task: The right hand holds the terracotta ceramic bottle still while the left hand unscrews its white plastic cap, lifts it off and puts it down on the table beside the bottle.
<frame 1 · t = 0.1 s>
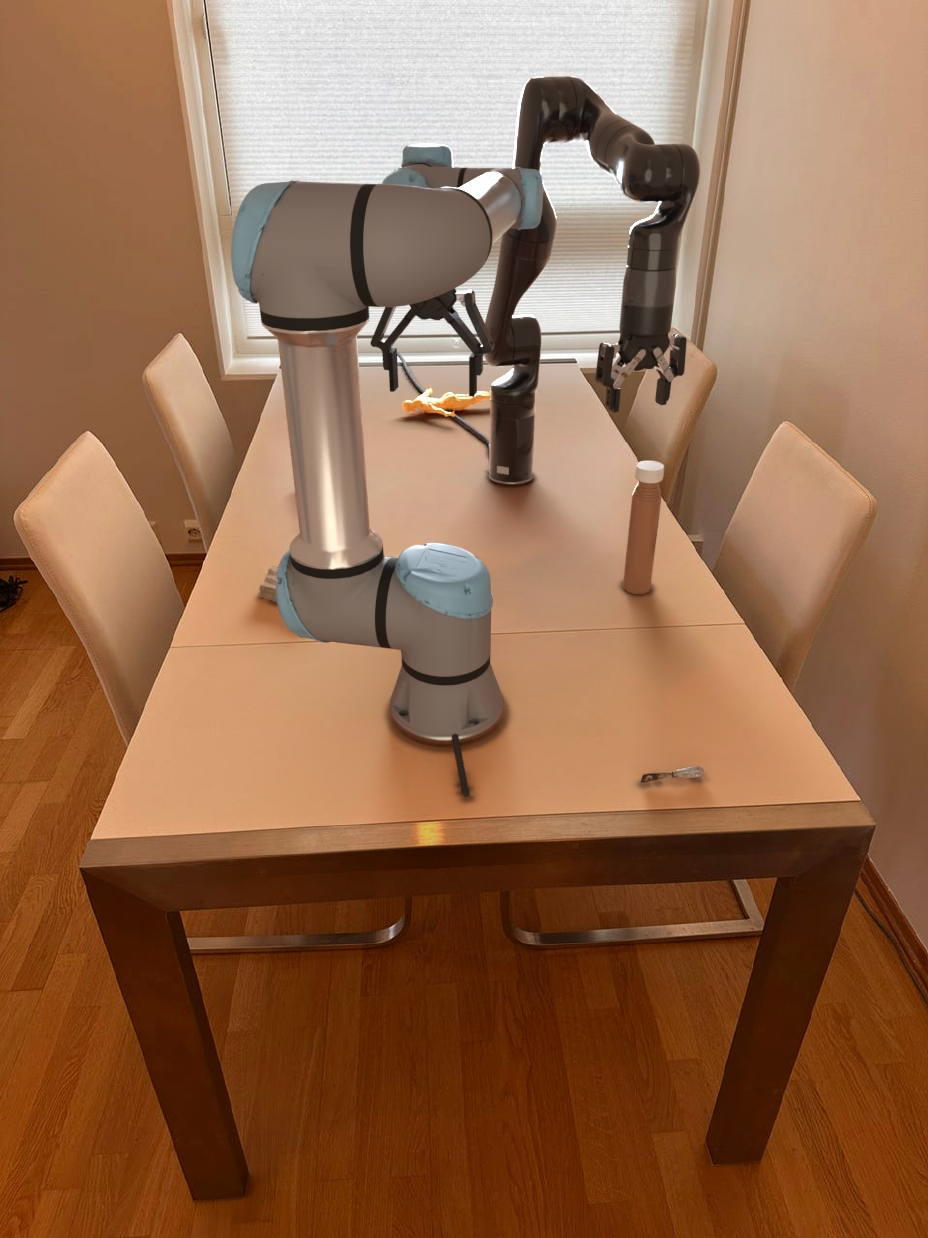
left hand: (433, 391, 149), 28 cm above the table, tool pointing down, fingers open, 13 cm apart
right hand: (636, 407, 138), 29 cm above the table, tool pointing down, fingers open, 8 cm apart
stone: (298, 596, 147), on the table
human figure: (450, 410, 226), on the table
cap: (650, 467, 138), point 21 cm above the table, screwed on, not yet turned
handgun: (335, 497, 181), on the table
bottle: (636, 587, 150), on the table
putty knife: (671, 781, 109), on the table
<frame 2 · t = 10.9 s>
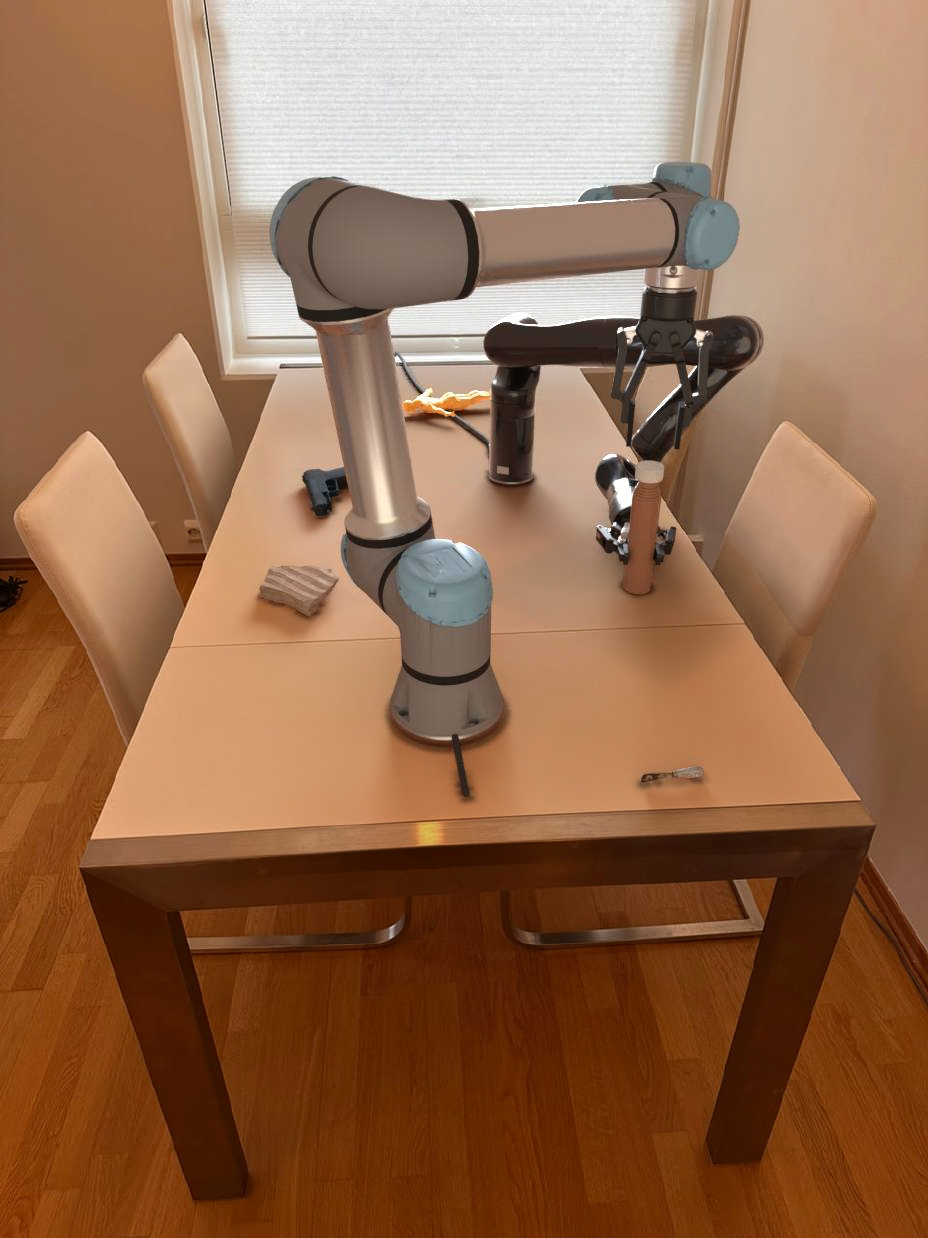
left hand: (652, 444, 136), 25 cm above the table, tool pointing down, fingers open, 6 cm apart
right hand: (642, 560, 144), 7 cm above the table, tool horizontal, fingers closed on bottle, 4 cm apart
bottle: (636, 587, 150), on the table, touching right hand
everything else where it was.
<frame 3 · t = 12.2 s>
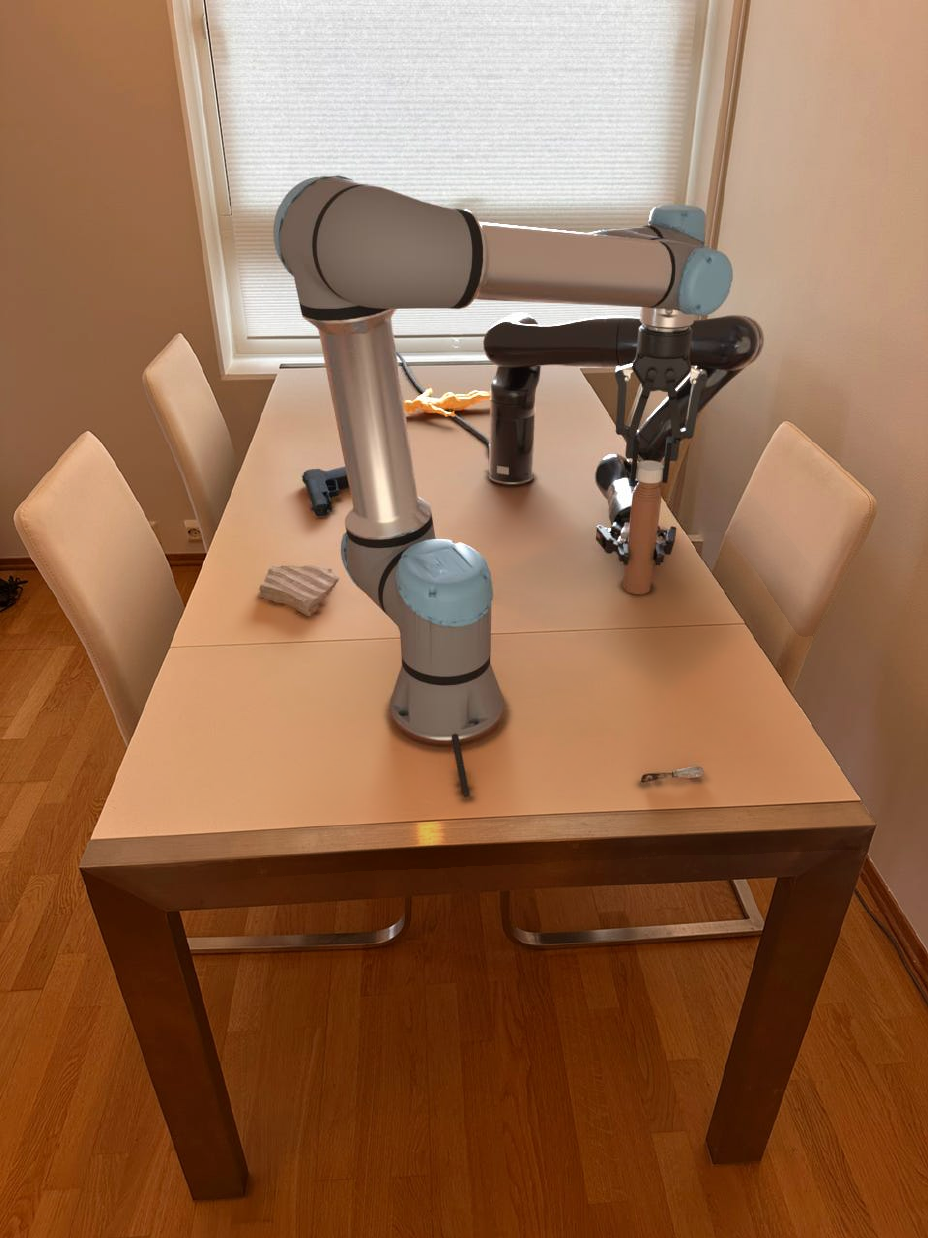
left hand: (648, 478, 139), 20 cm above the table, tool pointing down, fingers closed on cap, 4 cm apart
right hand: (642, 560, 144), 7 cm above the table, tool horizontal, fingers closed on bottle, 4 cm apart
cap: (650, 467, 138), point 21 cm above the table, screwed on, not yet turned, touching left hand
bottle: (636, 587, 150), on the table, touching right hand
everything else where it was.
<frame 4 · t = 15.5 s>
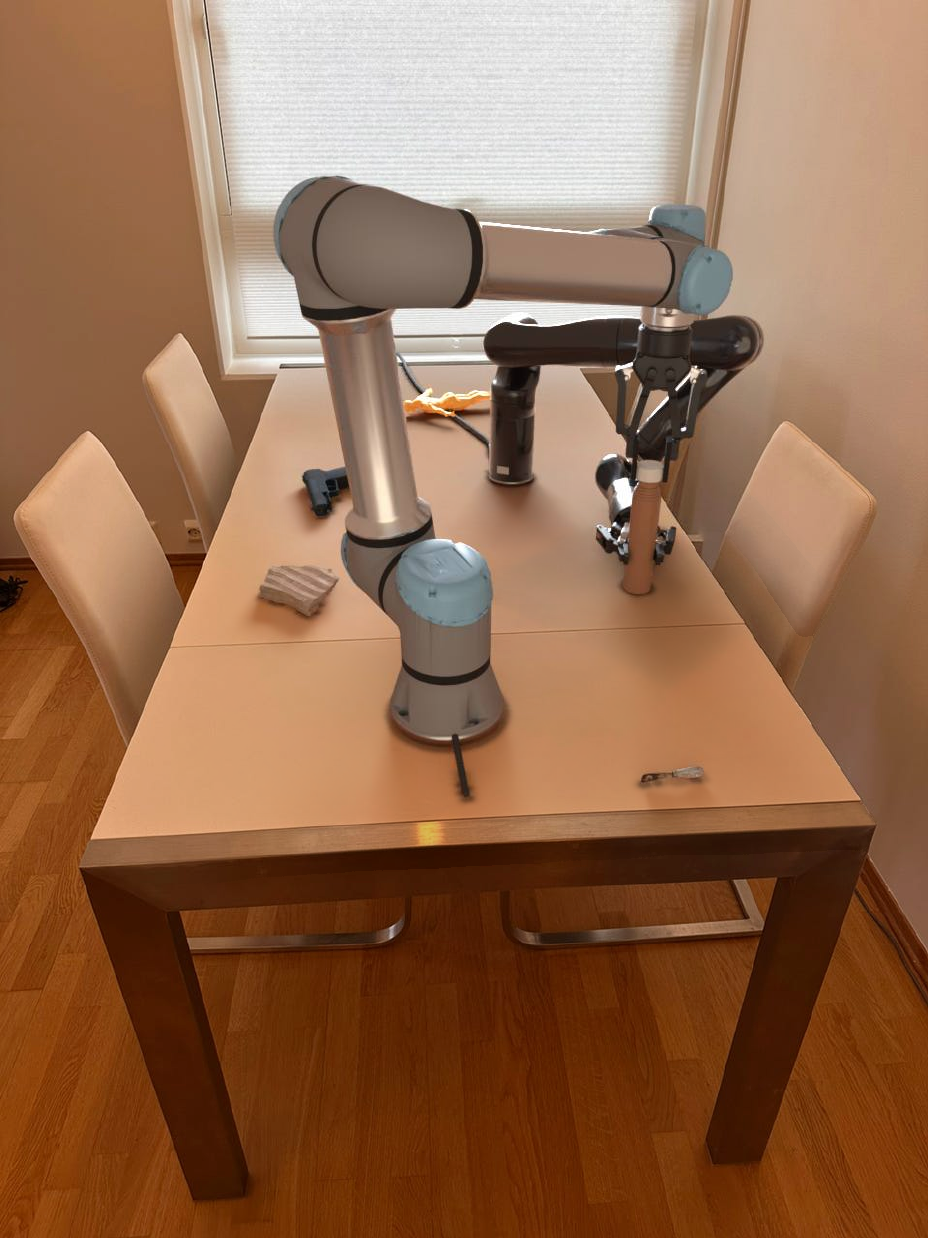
left hand: (648, 477, 139), 20 cm above the table, tool pointing down, fingers closed on cap, 4 cm apart
right hand: (642, 560, 144), 7 cm above the table, tool horizontal, fingers closed on bottle, 4 cm apart
cap: (650, 466, 138), point 22 cm above the table, turned 96° so far, risen 0.1 cm, still on its thread, touching left hand
bottle: (636, 587, 150), on the table, touching right hand
everything else where it was.
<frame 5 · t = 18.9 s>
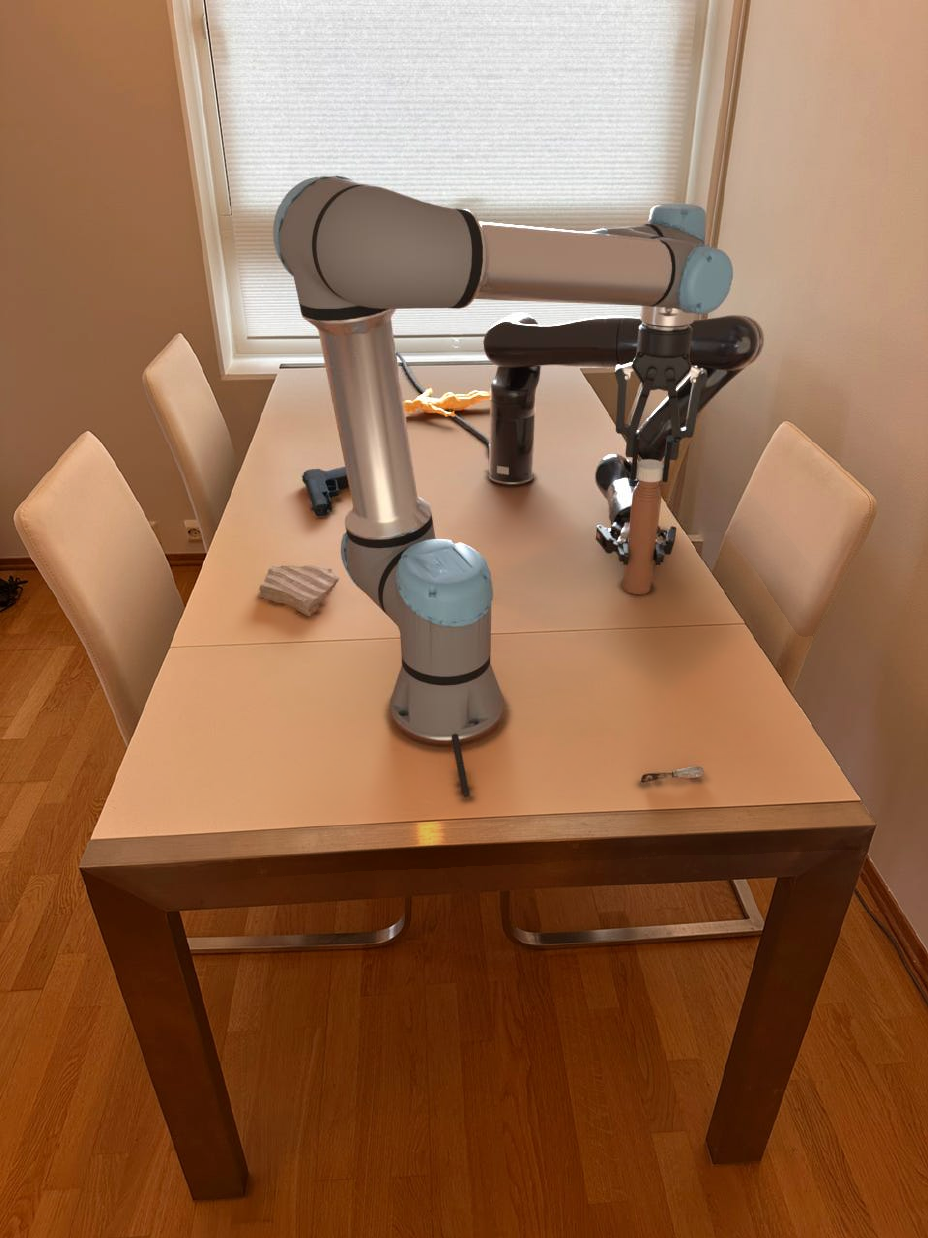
left hand: (648, 477, 139), 20 cm above the table, tool pointing down, fingers closed on cap, 4 cm apart
right hand: (642, 560, 144), 7 cm above the table, tool horizontal, fingers closed on bottle, 4 cm apart
cap: (650, 466, 138), point 22 cm above the table, turned 192° so far, risen 0.2 cm, still on its thread, touching left hand
bottle: (636, 587, 150), on the table, touching right hand
everything else where it was.
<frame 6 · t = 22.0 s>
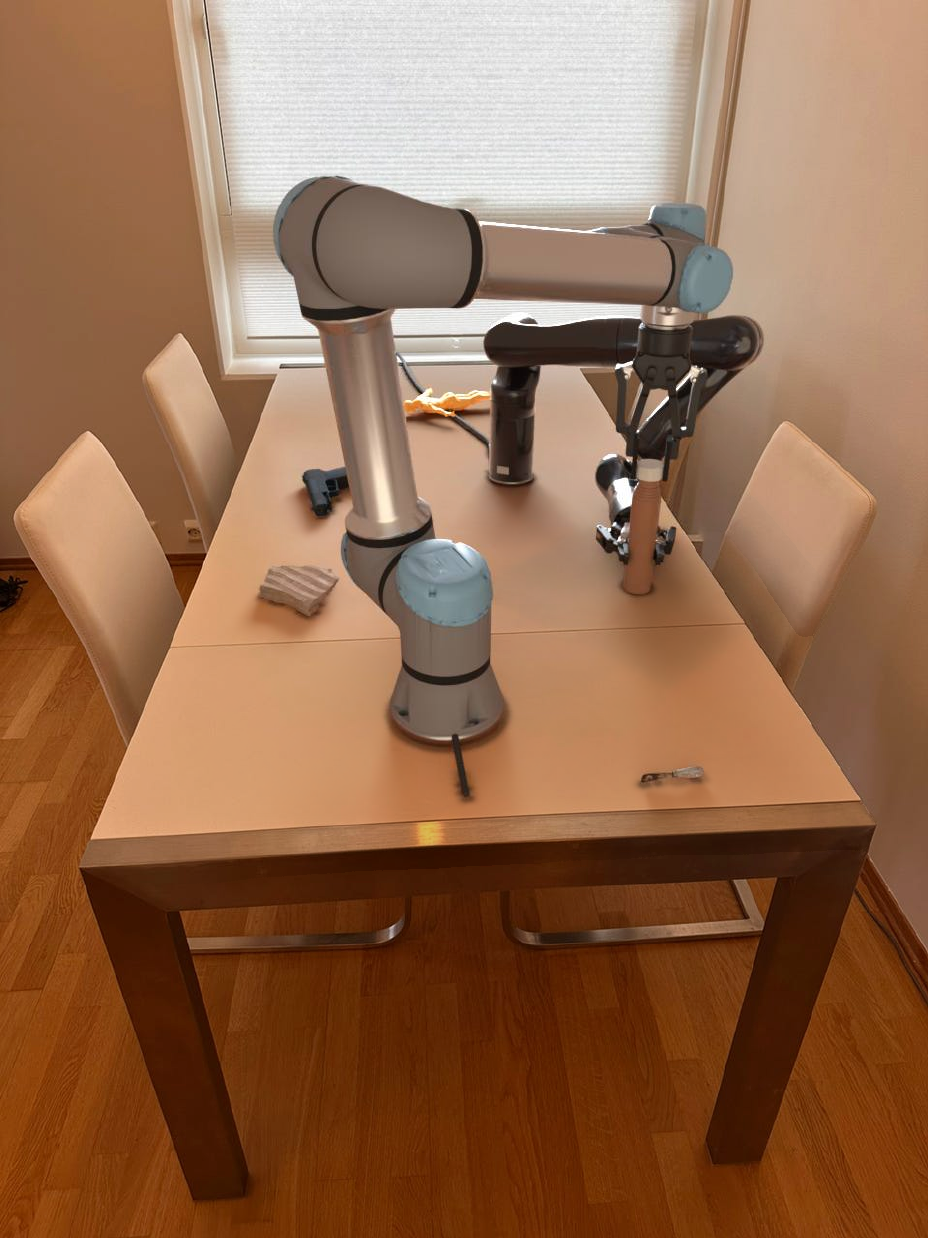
left hand: (649, 476, 139), 20 cm above the table, tool pointing down, fingers closed on cap, 4 cm apart
right hand: (642, 560, 144), 7 cm above the table, tool horizontal, fingers closed on bottle, 4 cm apart
cap: (650, 465, 138), point 22 cm above the table, turned 288° so far, risen 0.3 cm, still on its thread, touching left hand
bottle: (636, 587, 150), on the table, touching right hand
everything else where it was.
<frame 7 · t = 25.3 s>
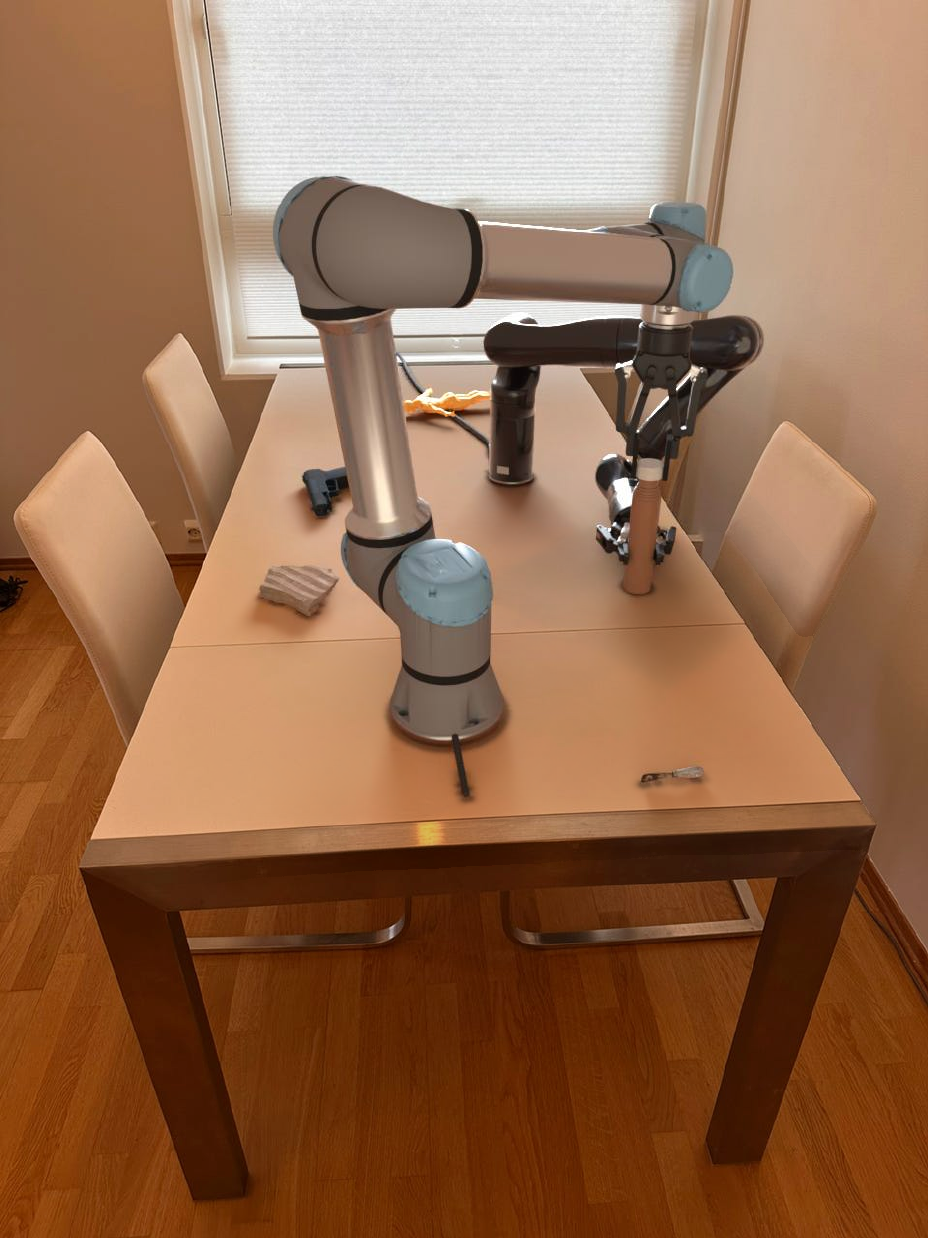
left hand: (649, 475, 139), 20 cm above the table, tool pointing down, fingers closed on cap, 4 cm apart
right hand: (642, 560, 144), 7 cm above the table, tool horizontal, fingers closed on bottle, 4 cm apart
cap: (650, 465, 138), point 22 cm above the table, turned 384° so far, risen 0.4 cm, still on its thread, touching left hand
bottle: (636, 587, 150), on the table, touching right hand
everything else where it was.
when the left hand's fingers open (2 cm above the table, at t = 31.8 s): cap drops 2 cm, point 2 cm above the table.
when the right hand's fingers open (7 cm above the table, at t = 33.1 s): bottle stays where it is, on the table.
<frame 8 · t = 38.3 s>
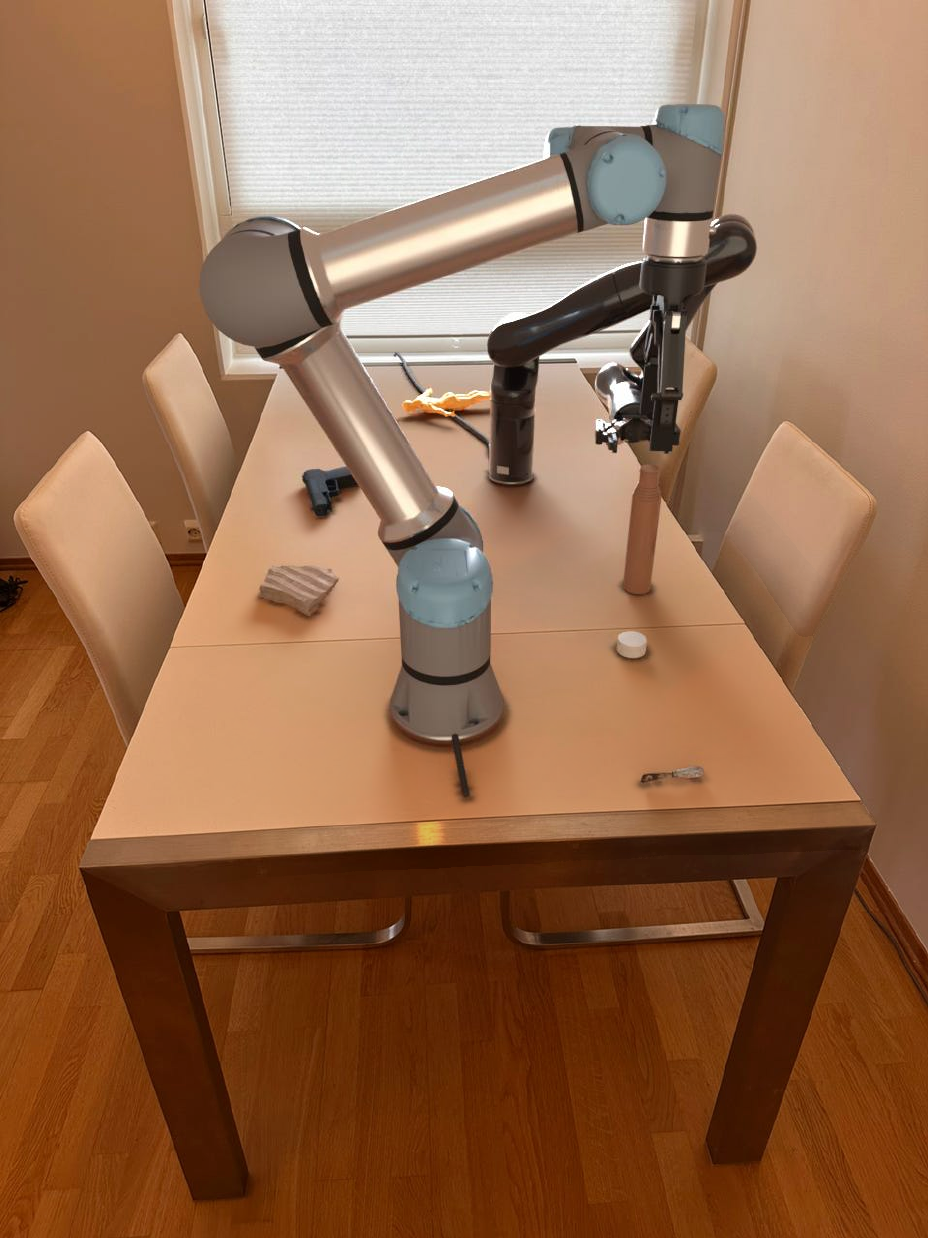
left hand: (655, 431, 115), 34 cm above the table, tool pointing down, fingers open, 13 cm apart
right hand: (641, 447, 148), 20 cm above the table, tool horizontal, fingers open, 8 cm apart
cap: (632, 640, 133), point 2 cm above the table, off its thread
bottle: (636, 587, 150), on the table
everything else where it was.
at the end: cap came off its thread; cap point 1.8 cm above the table; the left hand is holding nothing; the right hand is holding nothing; bottle tilted 0°; bottle moved 0.0 cm from its start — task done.
